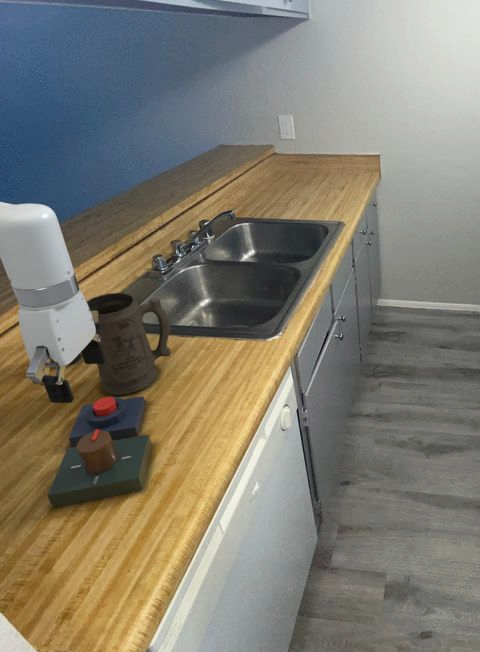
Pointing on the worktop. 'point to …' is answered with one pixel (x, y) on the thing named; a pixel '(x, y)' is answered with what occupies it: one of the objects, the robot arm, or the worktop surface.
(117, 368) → the beer stein
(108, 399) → the button
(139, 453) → the panel
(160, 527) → the worktop surface
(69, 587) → the worktop surface
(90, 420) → the button box
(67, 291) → the robot arm
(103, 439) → the knob
